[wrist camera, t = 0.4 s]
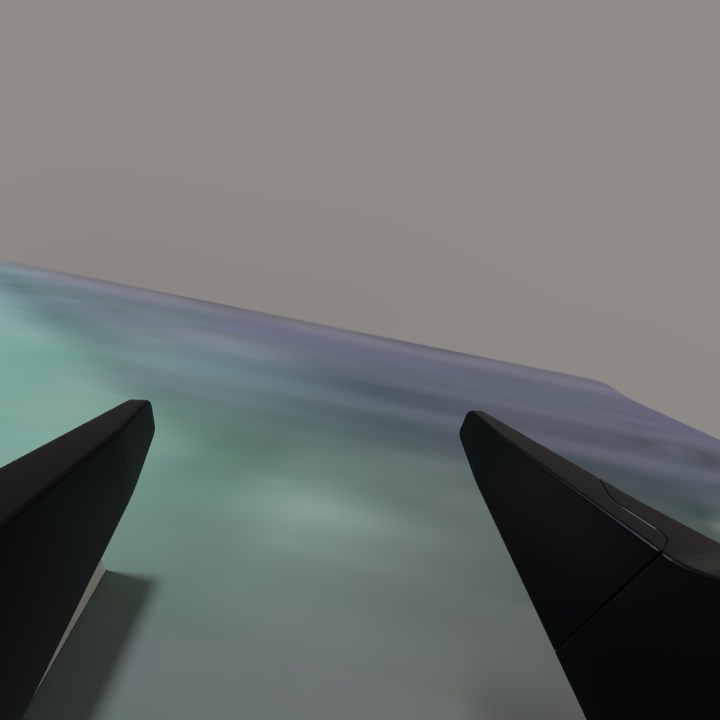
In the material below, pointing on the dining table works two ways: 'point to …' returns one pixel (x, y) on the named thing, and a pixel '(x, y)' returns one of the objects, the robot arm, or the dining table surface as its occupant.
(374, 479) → the dining table surface
